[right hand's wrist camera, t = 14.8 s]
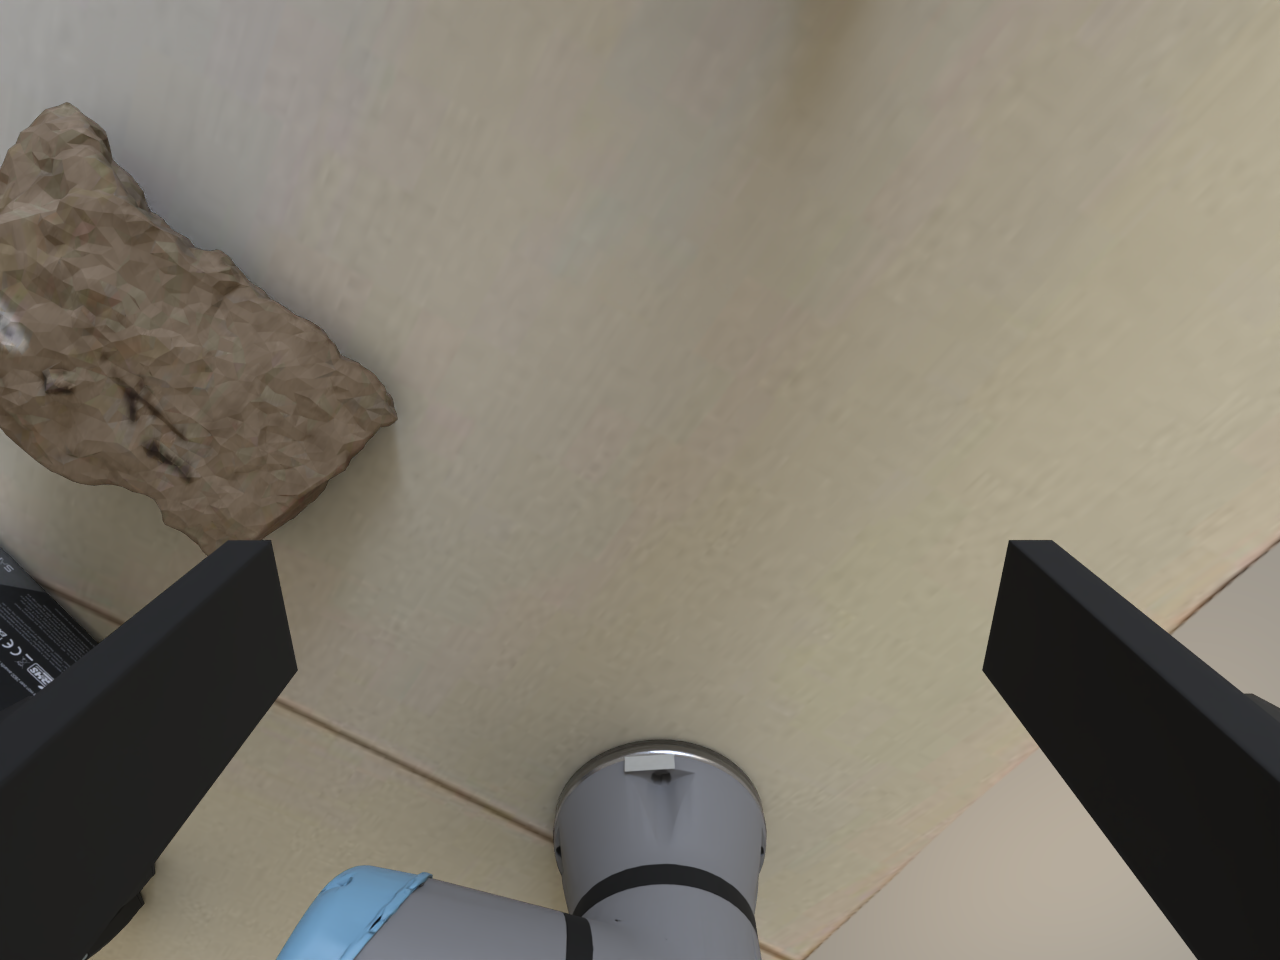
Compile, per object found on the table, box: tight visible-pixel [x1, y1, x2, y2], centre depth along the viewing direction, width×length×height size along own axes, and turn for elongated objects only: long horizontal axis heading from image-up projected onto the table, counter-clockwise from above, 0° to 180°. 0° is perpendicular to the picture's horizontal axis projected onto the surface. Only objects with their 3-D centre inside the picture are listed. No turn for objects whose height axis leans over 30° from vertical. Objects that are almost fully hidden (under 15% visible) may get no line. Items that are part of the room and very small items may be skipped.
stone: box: [0, 102, 397, 556], centre depth 37 cm, size 21×15×6 cm
